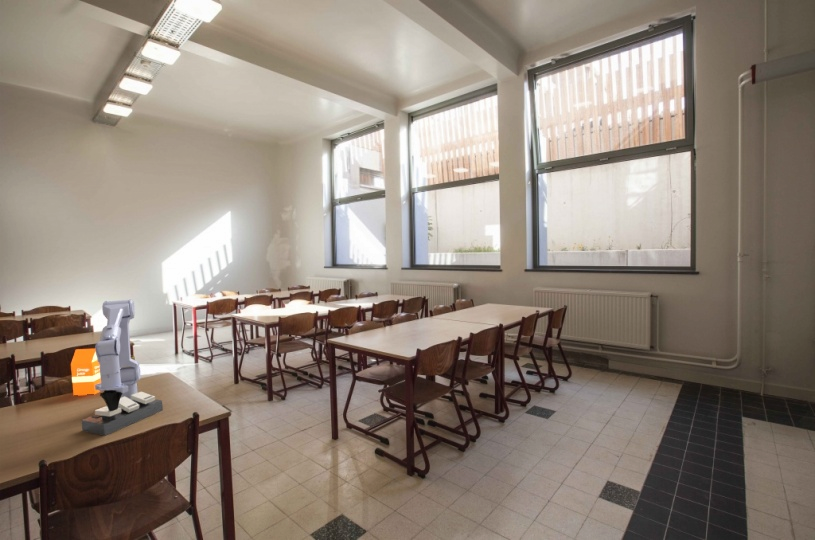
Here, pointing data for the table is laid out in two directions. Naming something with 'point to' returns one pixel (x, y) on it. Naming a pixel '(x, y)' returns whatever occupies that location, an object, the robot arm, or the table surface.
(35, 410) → the table surface
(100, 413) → the rocker
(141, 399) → the white rectangular block
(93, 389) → the orange juice
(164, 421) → the table surface
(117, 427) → the grey slab
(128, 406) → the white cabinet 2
